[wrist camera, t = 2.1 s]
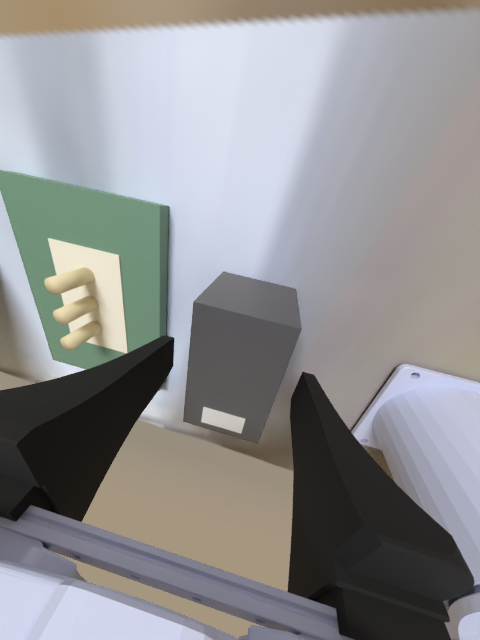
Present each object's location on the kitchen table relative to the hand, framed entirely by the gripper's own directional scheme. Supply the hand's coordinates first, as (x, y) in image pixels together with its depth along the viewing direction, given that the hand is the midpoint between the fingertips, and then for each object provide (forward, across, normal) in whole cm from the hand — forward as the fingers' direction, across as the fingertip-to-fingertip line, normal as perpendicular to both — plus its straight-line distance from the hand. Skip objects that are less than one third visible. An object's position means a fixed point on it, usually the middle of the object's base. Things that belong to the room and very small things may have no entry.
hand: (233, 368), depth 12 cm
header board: (+4, +11, 0) cm, 12 cm away
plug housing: (+4, 0, 0) cm, 4 cm away
